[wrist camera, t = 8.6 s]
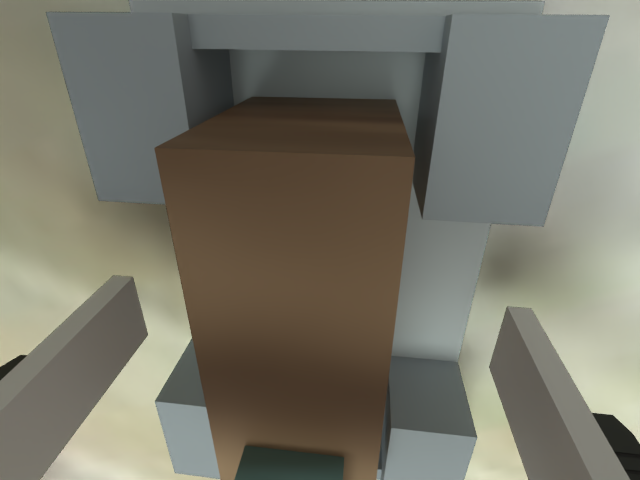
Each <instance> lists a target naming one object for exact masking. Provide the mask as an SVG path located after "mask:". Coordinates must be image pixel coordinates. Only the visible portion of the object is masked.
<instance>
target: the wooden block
mask: <svg viewBox="0 0 640 480" xmlns="http://www.w3.org/2000/svg"><path fill="white" fill-rule="evenodd" d="M154 149H155V154H156V159H157V164H158V169H159V174H160V179H161V184H162V189H163V194H164V199H165V204H166V209H167V214H168V219H169V224H170V229H171V234H172V239H173V244H174V249H175V254H176V259H177V264H178V269H179V274H180V279H181V284H182V289H183V294H184V299H185V304H186V309H187V314H188V319H189V324H190V329H191V334H192V339H193V344H194V349H195V354H196V359H197V364H198V369H199V374H200V379H201V384H202V389H203V394H204V399H205V404H206V409H207V414H208V419H209V424H210V429H211V434H212V439H213V444H214V449H215V454H216V459H217V464H218V469H219V474H220V479H221V480H376V479H377V470H378V462H379V454H380V445H381V437H382V429H383V421H384V412H385V404H386V396H387V387H388V379H389V371H390V363H391V354H392V346H393V338H394V329H395V321H396V313H397V305H398V296H399V288H400V280H401V272H402V263H403V255H404V247H405V238H406V230H407V222H408V214H409V205H410V197H411V189H412V180H413V172H414V164H415V155H414V152H413V149H412V146H411V143H410V140H409V137H408V134H407V132H406V129H405V126H404V123H403V120H402V117H401V114H400V111H399V108H398V105H397V102H396V100H395V99H346V98H298V97H250V98H248V99H247V100H245V101H243V102H241V103H239V104H237V105H235V106H233V107H231V108H229V109H227V110H226V111H224V112H222V113H220V114H218V115H216V116H214V117H212V118H210V119H208V120H206V121H205V122H203V123H201V124H199V125H197V126H195V127H193V128H191V129H189V130H187V131H185V132H184V133H182V134H180V135H178V136H176V137H174V138H172V139H170V140H168V141H166V142H164V143H163V144H161V145H159V146H157V147H155V148H154Z"/></svg>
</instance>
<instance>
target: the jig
mask: <svg viewBox="0 0 640 480" xmlns="http://www.w3.org/2000/svg"><path fill="white" fill-rule="evenodd" d="M544 3H545V1H365V0H129V4H130V9H131V12H46V15H47V18H48V22H49V25H50V29H51V33H52V36H53V40H54V43H55V47H56V50H57V54H58V58H59V61H60V65H61V68H62V72H63V75H64V79H65V83H66V86H67V90H68V93H69V97H70V100H71V104H72V108H73V111H74V115H75V118H76V122H77V125H78V129H79V133H80V136H81V140H82V143H83V147H84V150H85V154H86V158H87V161H88V165H89V168H90V172H91V175H92V179H93V182H94V186H95V190H96V193H97V197H98V200H99V201H113V202H130V203H148V204H165V199H164V194H163V189H162V184H161V179H160V174H159V169H158V164H157V159H156V154H155V149H154V148H155V147H157V146H159V145H161V144H163V143H164V142H166V141H168V140H170V139H172V138H174V137H176V136H178V135H180V134H182V133H184V132H185V131H187V130H189V129H191V128H193V127H195V126H197V125H199V124H201V123H203V122H205V121H206V120H208V119H210V118H212V117H214V116H216V115H218V114H220V113H222V112H224V111H226V110H227V109H229V108H231V107H233V106H235V105H237V104H239V103H241V102H243V101H245V100H247V99H248V98H250V97H298V98H346V99H395V100H396V102H397V105H398V108H399V111H400V114H401V117H402V120H403V123H404V126H405V129H406V132H407V134H408V137H409V140H410V143H411V146H412V149H413V152H414V155H415V164H414V172H413V180H412V189H411V197H410V205H409V214H408V222H407V230H406V238H405V247H404V255H403V263H402V272H401V280H400V288H399V296H398V305H397V313H396V321H395V329H394V338H393V346H392V354H391V363H390V371H389V379H388V387H387V396H386V404H385V412H384V421H383V429H382V437H381V445H380V454H379V462H378V470H377V479H376V480H464V478H465V475H466V472H467V469H468V465H469V462H470V459H471V456H472V453H473V450H474V446H475V443H476V440H477V435H476V431H475V427H474V423H473V419H472V415H471V412H470V408H469V404H468V400H467V396H466V392H465V388H464V384H463V381H462V377H461V373H460V369H459V365H458V359H459V354H460V350H461V346H462V342H463V338H464V334H465V330H466V325H467V321H468V317H469V313H470V309H471V305H472V301H473V297H474V292H475V288H476V284H477V280H478V276H479V272H480V268H481V264H482V259H483V255H484V251H485V247H486V243H487V239H488V235H489V230H490V226H491V224H508V225H525V226H542V227H544V223H545V220H546V217H547V214H548V211H549V207H550V204H551V201H552V198H553V195H554V192H555V188H556V185H557V182H558V179H559V176H560V172H561V169H562V166H563V163H564V160H565V156H566V153H567V150H568V147H569V144H570V141H571V137H572V134H573V131H574V128H575V125H576V121H577V118H578V115H579V112H580V109H581V106H582V102H583V99H584V96H585V93H586V90H587V86H588V83H589V80H590V77H591V74H592V71H593V67H594V64H595V61H596V58H597V55H598V51H599V48H600V45H601V42H602V39H603V35H604V32H605V29H606V26H607V23H608V20H609V16H610V15H542V11H543V7H544ZM165 205H166V204H165ZM155 404H156V407H157V411H158V415H159V418H160V422H161V425H162V429H163V432H164V436H165V440H166V443H167V447H168V450H169V454H170V457H171V461H172V465H173V468H174V472H175V473H178V474H186V475H194V476H201V477H209V478H216V479H220V474H219V469H218V464H217V459H216V454H215V449H214V444H213V439H212V434H211V429H210V424H209V419H208V414H207V409H206V404H205V399H204V394H203V389H202V384H201V379H200V374H199V369H198V364H197V359H196V354H195V349H194V344H193V339H191V341H190V343H189V344H188V346H187V348H186V350H185V351H184V353H183V355H182V356H181V358H180V360H179V361H178V363H177V365H176V366H175V368H174V370H173V371H172V373H171V375H170V377H169V378H168V380H167V382H166V383H165V385H164V387H163V388H162V390H161V392H160V393H159V395H158V397H157V398H156V400H155Z"/></svg>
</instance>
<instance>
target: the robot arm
mask: <svg viewBox="0 0 640 480" xmlns="http://www.w3.org/2000/svg"><path fill="white" fill-rule="evenodd" d="M147 336H148V333H147V329H146V325H145V321H144V317H143V313H142V310H141V306H140V302H139V298H138V294H137V290H136V287H135V283H134V279H133V277H128V276H115V275H113V276H112V277H111V278H110V279H109V280H108V281H107V282H106V283H105V284H103V285H102V286H101V287H100V288H99V289H98V290H97V291H96V292H95V293H94V294H93V295H92V296H91V297H90V298H88V299H87V300H86V301H85V302H84V303H83V304H82V305H81V306H80V307H79V308H78V309H77V310H76V311H74V312H73V313H72V314H71V315H70V316H69V317H68V318H67V319H66V320H65V321H64V322H63V323H62V324H61V325H59V326H58V327H57V328H56V329H55V330H54V331H53V332H52V333H51V334H50V335H49V336H48V337H47V338H46V339H44V340H43V341H42V342H41V343H40V344H39V345H38V346H37V347H36V348H35V349H34V350H33V351H32V352H31V353H29V354H28V355H20V356H18V357H16V358H15V359H13V360H11V361H10V362H8V363H6V364H5V365H3V366H1V367H0V480H40V479H41V478H42V476H43V475H44V474H45V472H46V471H47V470H48V468H49V467H50V466H51V464H52V463H53V462H54V460H55V459H56V458H57V456H58V455H59V453H60V452H61V451H62V449H63V448H64V447H65V445H66V444H67V443H68V441H69V440H70V439H71V437H72V436H73V435H74V433H75V432H76V431H77V429H78V428H79V427H80V425H81V424H82V423H83V421H84V420H85V419H86V417H87V416H88V415H89V413H90V412H91V411H92V409H93V408H94V407H95V405H96V404H97V403H98V401H99V400H100V399H101V397H102V396H103V395H104V393H105V392H106V390H107V389H108V388H109V386H110V385H111V384H112V382H113V381H114V380H115V378H116V377H117V376H118V374H119V373H120V372H121V370H122V369H123V368H124V366H125V365H126V364H127V362H128V361H129V360H130V358H131V357H132V356H133V354H134V353H135V352H136V350H137V349H138V348H139V346H140V345H141V344H142V342H143V341H144V340H145V338H146V337H147ZM489 368H490V371H491V374H492V377H493V379H494V382H495V385H496V388H497V391H498V394H499V397H500V400H501V402H502V405H503V408H504V411H505V414H506V417H507V420H508V422H509V425H510V428H511V431H512V434H513V437H514V440H515V443H516V445H517V448H518V451H519V454H520V457H521V460H522V463H523V466H524V468H525V471H526V474H527V477H528V480H640V444H639V442H638V441H637V439H636V438H635V436H634V435H633V434H632V433H631V432H630V431H629V430H628V429H627V428H626V427H625V426H624V425H623V424H622V423H621V422H620V421H619V420H618V419H616V418H615V417H614V416H613V415H607V414H597V413H591V411H590V409H589V407H588V406H587V404H586V402H585V400H584V399H583V397H582V395H581V394H580V392H579V390H578V388H577V387H576V385H575V383H574V381H573V380H572V378H571V376H570V374H569V373H568V371H567V369H566V368H565V366H564V364H563V362H562V361H561V359H560V357H559V355H558V354H557V352H556V350H555V348H554V347H553V345H552V343H551V341H550V340H549V338H548V336H547V335H546V333H545V331H544V329H543V328H542V326H541V324H540V322H539V321H538V319H537V317H536V315H535V314H534V312H533V310H532V309H531V308H521V307H508V306H507V308H506V312H505V315H504V319H503V322H502V325H501V329H500V332H499V335H498V339H497V342H496V346H495V349H494V352H493V356H492V359H491V362H490V366H489Z"/></svg>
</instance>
